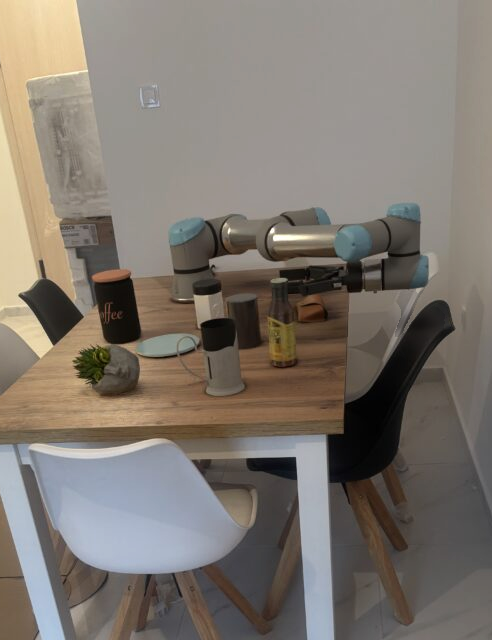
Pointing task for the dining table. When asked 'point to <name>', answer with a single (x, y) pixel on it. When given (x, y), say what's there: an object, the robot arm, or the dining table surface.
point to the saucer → (166, 345)
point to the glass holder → (219, 357)
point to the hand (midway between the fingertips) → (276, 282)
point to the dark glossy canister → (245, 319)
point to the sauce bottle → (281, 325)
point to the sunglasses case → (312, 309)
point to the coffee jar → (117, 306)
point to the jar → (208, 300)
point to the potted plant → (108, 369)
